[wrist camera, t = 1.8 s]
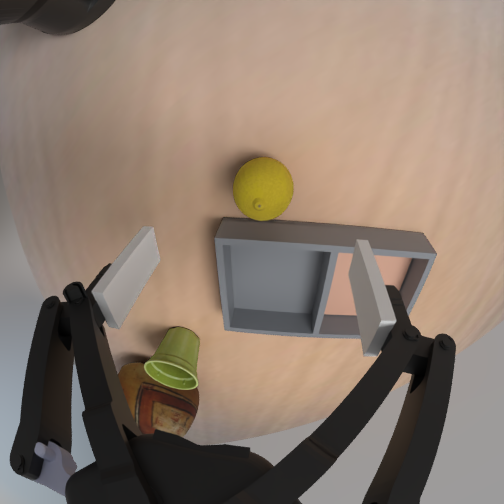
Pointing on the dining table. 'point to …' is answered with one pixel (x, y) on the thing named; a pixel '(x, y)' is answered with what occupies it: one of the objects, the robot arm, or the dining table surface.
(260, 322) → the sorting tray
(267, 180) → the lemon
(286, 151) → the dining table surface
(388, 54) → the dining table surface
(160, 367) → the plant pot
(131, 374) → the ceramic pitcher
